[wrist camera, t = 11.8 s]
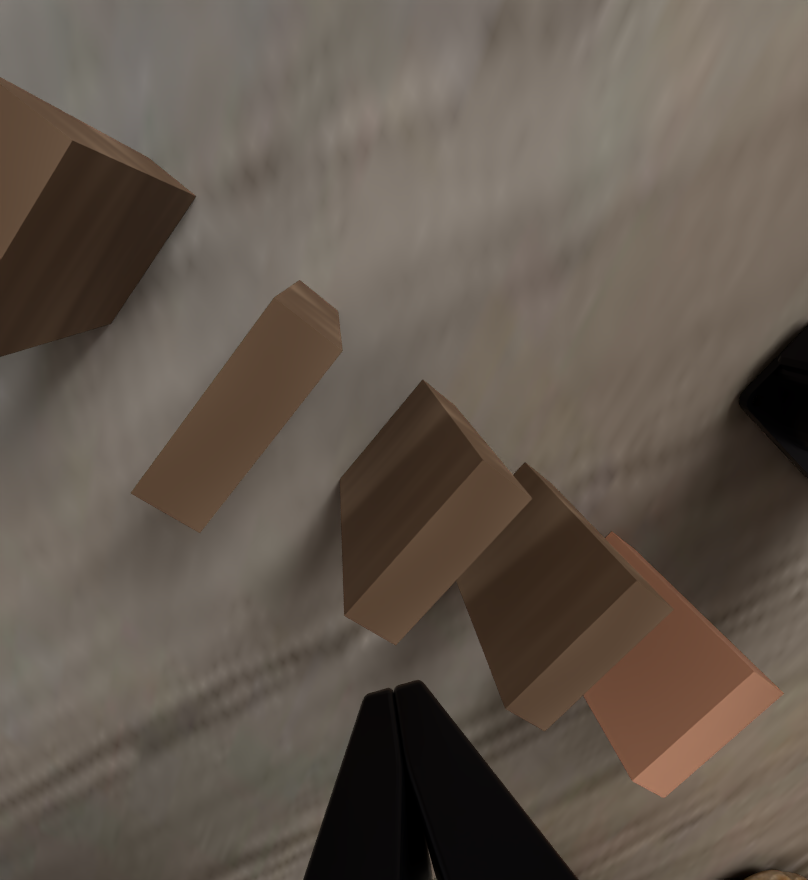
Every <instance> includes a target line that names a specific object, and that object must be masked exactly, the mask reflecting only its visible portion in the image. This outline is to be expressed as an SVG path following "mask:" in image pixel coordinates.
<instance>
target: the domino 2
mask: <svg viewBox="0 0 808 880" xmlns="http://www.w3.org/2000/svg"><path fill="white" fill-rule="evenodd" d="M342 351H343V350H342V341H341V333H340V324H339V315H338V311H337V310H336V309H335V308H334V307H332V306H331V305H330V304H329V303H328V302H326V301H325V300H324V299H323V298H321V297H320V296H319V295H318V294H316V293H315V292H314V291H313V290H311V289H310V288H309V287H308V286H306V285H305V284H304V283H303V282H302V281H300V280H299V281H298V282H296V283H295V284H293V285H292V286H290V287H289V288H287V289H286V290H284V291H283V292H282V293H280V294H279V295H277V296H276V297H274V298H273V300H272V301H271V303H270V304H269V305H268V307H267V308H266V309H265V311H264V312H263V313H262V315H261V316H260V318H259V319H258V320H257V322H256V323H255V324H254V326H253V327H252V328H251V330H250V331H249V333H248V334H247V335H246V337H245V338H244V339H243V341H242V342H241V343H240V345H239V346H238V347H237V349H236V350H235V352H234V353H233V354H232V356H231V357H230V358H229V360H228V361H227V362H226V364H225V365H224V367H223V368H222V369H221V371H220V372H219V373H218V375H217V376H216V377H215V379H214V380H213V382H212V383H211V384H210V386H209V387H208V388H207V390H206V391H205V392H204V394H203V395H202V397H201V398H200V399H199V401H198V402H197V403H196V405H195V406H194V407H193V409H192V410H191V412H190V413H189V414H188V416H187V417H186V418H185V420H184V421H183V422H182V424H181V425H180V426H179V428H178V429H177V431H176V432H175V433H174V435H173V436H172V437H171V439H170V440H169V441H168V443H167V444H166V446H165V447H164V448H163V450H162V451H161V452H160V454H159V455H158V456H157V458H156V459H155V461H154V462H153V463H152V465H151V466H150V467H149V469H148V470H147V471H146V473H145V474H144V476H143V477H142V478H141V480H140V481H139V482H138V484H137V485H136V486H135V488H134V489H133V491H132V492H131V494H133V495H135V496H136V497H138V498H140V499H141V500H143V501H145V502H147V503H148V504H150V505H152V506H154V507H155V508H157V509H159V510H161V511H162V512H164V513H166V514H168V515H169V516H171V517H173V518H175V519H176V520H178V521H180V522H181V523H183V524H185V525H187V526H188V527H190V528H192V529H194V530H195V531H197V532H199V533H200V532H201V531H202V530H203V528H204V527H205V526H206V525H207V523H208V522H209V521H210V519H211V518H212V517H213V516H214V514H215V513H216V512H217V511H218V509H219V508H220V507H221V505H222V504H223V503H224V502H225V500H226V499H227V498H228V496H229V495H230V494H231V493H232V491H233V490H234V489H235V488H236V486H237V485H238V484H239V482H240V481H241V480H242V479H243V477H244V476H245V475H246V473H247V472H248V471H249V470H250V468H251V467H252V466H253V465H254V463H255V462H256V461H257V459H258V458H259V457H260V456H261V454H262V453H263V452H264V451H265V449H266V448H267V447H268V445H269V444H270V443H271V442H272V440H273V439H274V438H275V436H276V435H277V434H278V433H279V431H280V430H281V429H282V428H283V426H284V425H285V424H286V422H287V421H288V420H289V419H290V417H291V416H292V415H293V413H294V412H295V411H296V410H297V408H298V407H299V406H300V405H301V403H302V402H303V401H304V399H305V398H306V397H307V396H308V394H309V393H310V392H311V390H312V389H313V388H314V387H315V385H316V384H317V383H318V382H319V380H320V379H321V378H322V376H323V375H324V374H325V373H326V371H327V370H328V369H329V368H330V366H331V365H332V364H333V362H334V361H335V360H336V359H337V357H338V356H339V355H340V353H341V352H342Z"/></svg>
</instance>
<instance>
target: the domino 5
mask: <svg viewBox="0 0 808 880" xmlns="http://www.w3.org/2000/svg"><path fill="white" fill-rule="evenodd" d="M605 539H606V540H607V541H608V542H609V543H610V544H611V545H612V546H613V547H614V548H615V549H616V550H617V551H618V552H619V553H620V555H621V556H622V557H623V558H624V559H625V560H626V561H627V562H628V563H629V564H630V565H631V566H632V567H633V568H634V569H635V570H636V571H637V572H638V573H639V574H640V575H641V576H642V577H643V578H644V579H645V580H646V581H647V582H648V583H649V584H650V585H651V586H652V587H653V588H654V589H655V591H656V592H657V593H658V594H659V595H660V596H661V597H662V598H663V599H664V600H665V601H666V602H667V603H668V604H669V605H670V606H671V607H672V608H673V609H674V610H673V611H672V612H671V613H670V614H669V615H668V616H667V617H665V618H664V619H663V620H662V621H661V622H660V623H659V624H658V625H657V626H656V627H655V628H654V629H653V630H652V631H651V632H650V633H649V634H647V635H646V636H645V637H644V638H643V639H642V640H641V641H640V642H639V643H638V644H637V645H636V646H635V647H634V648H633V649H632V650H631V651H629V652H628V653H627V654H626V655H625V656H624V657H623V658H622V659H621V660H620V661H619V662H618V663H617V664H616V665H615V666H614V667H613V668H611V669H610V670H609V671H608V672H607V673H606V674H605V675H604V676H603V677H602V678H601V679H600V680H599V681H598V682H597V683H596V684H594V685H593V686H592V687H591V688H590V689H589V690H588V691H587V692H586V693H585V694H584V695H583V696H584V698H585V699H586V701H587V703H588V705H589V706H590V708H591V710H592V712H593V713H594V715H595V717H596V719H597V720H598V722H599V724H600V726H601V727H602V729H603V731H604V733H605V734H606V736H607V738H608V740H609V741H610V743H611V745H612V747H613V748H614V750H615V752H616V754H617V755H618V757H619V759H620V761H621V762H622V764H623V766H624V768H625V769H626V771H627V773H628V775H629V776H630V778H631V780H632V781H633V782H635V783H637V784H639V785H641V786H642V787H644V788H646V789H648V790H650V791H652V792H653V793H655V794H657V795H659V796H661V797H662V798H665V797H666V796H667V795H668V794H669V793H671V792H672V791H673V790H674V789H675V788H676V787H677V786H679V785H680V784H681V783H682V782H683V781H684V780H685V779H687V778H688V777H689V776H690V775H691V774H692V773H693V772H695V771H696V770H697V769H698V768H699V767H700V766H701V765H703V764H704V763H705V762H706V761H707V760H708V759H709V758H711V757H712V756H713V755H714V754H715V753H716V752H718V751H719V750H720V749H721V748H722V747H723V746H724V745H726V744H727V743H728V742H729V741H730V740H731V739H732V738H734V737H735V736H736V735H737V734H738V733H739V732H740V731H742V730H743V729H744V728H745V727H746V726H747V725H748V724H750V723H751V722H752V721H753V720H754V719H755V718H756V717H758V716H759V715H760V714H761V713H762V712H763V711H764V710H766V709H767V708H768V707H769V706H770V705H771V704H773V703H774V702H775V701H776V700H777V699H778V698H779V697H781V696H782V695H783V694H784V693H783V692H782V691H781V690H780V689H779V688H778V687H777V686H776V685H775V684H774V683H773V682H772V681H771V680H770V679H769V678H767V677H766V676H765V675H764V674H763V673H762V672H761V671H760V670H759V669H758V668H757V667H756V666H755V665H754V664H753V663H752V662H751V661H750V660H749V659H748V658H747V657H746V656H745V655H744V654H743V653H742V652H741V651H740V650H739V649H737V648H736V647H735V646H734V645H733V644H732V643H731V642H730V641H729V640H728V639H727V638H726V637H725V636H724V635H723V634H722V633H721V632H720V631H719V630H718V629H717V628H716V627H715V626H714V625H713V624H712V623H711V622H710V621H709V620H707V619H706V618H705V617H704V616H703V615H702V614H701V613H700V612H699V611H698V610H697V609H696V608H695V607H694V606H693V605H692V604H691V603H690V602H689V601H688V600H687V599H686V598H685V597H684V596H683V595H682V594H681V593H680V592H678V591H677V590H676V589H675V588H674V587H673V586H672V585H671V584H670V583H669V582H668V581H667V580H666V579H665V578H664V577H663V576H662V575H661V574H660V573H659V572H658V571H657V570H656V569H655V568H654V567H653V566H652V565H651V564H650V563H648V562H647V561H646V560H645V559H644V558H643V557H642V556H641V555H640V554H639V553H638V552H637V551H636V550H635V549H634V548H633V547H631V546H630V545H629V544H627V543H626V542H625V541H624V540H622V539H621V538H620V537H618V536H617V535H616V534H614V533H613V532H612V531H611V532H610V533H609V535H608V536H607V537H606V538H605Z"/></svg>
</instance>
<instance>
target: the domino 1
mask: <svg viewBox="0 0 808 880" xmlns="http://www.w3.org/2000/svg"><path fill="white" fill-rule="evenodd" d="M195 197H196V196H195V195H194V194H193V193H191V192H190V191H189V190H188V189H187V188H185V187H184V186H183V185H182V184H180V183H179V182H178V181H177V180H175V179H174V178H173V177H172V176H170V175H169V174H168V173H167V172H165V171H164V170H163V169H162V168H161V167H159V166H158V165H157V164H156V163H154V162H153V161H152V160H151V159H149V158H148V157H146V156H144V155H142V154H141V153H139V152H137V151H135V150H133V149H131V148H130V147H128V146H126V145H124V144H122V143H120V142H118V141H117V140H115V139H113V138H111V137H109V136H107V135H106V134H104V133H102V132H100V131H98V130H96V129H95V128H93V127H91V126H89V125H87V124H85V123H84V122H82V121H80V120H78V119H76V118H74V117H73V116H71V115H69V114H67V113H65V112H63V111H62V110H60V109H58V108H56V107H54V106H52V105H51V104H49V103H47V102H45V101H43V100H41V99H39V98H38V97H36V96H34V95H32V94H30V93H28V92H27V91H25V90H23V89H21V88H19V87H17V86H16V85H14V84H12V83H10V82H8V81H6V80H5V79H3V78H1V77H0V357H1V356H4V355H8V354H11V353H15V352H18V351H21V350H25V349H28V348H31V347H35V346H38V345H41V344H45V343H48V342H51V341H55V340H58V339H61V338H65V337H68V336H72V335H75V334H78V333H82V332H85V331H88V330H92V329H95V328H98V327H102V326H105V325H108V324H111V323H112V321H113V320H114V318H115V317H116V315H117V314H118V312H119V311H120V309H121V308H122V306H123V305H124V303H125V302H126V300H127V299H128V297H129V296H130V294H131V293H132V291H133V290H134V288H135V287H136V285H137V284H138V282H139V281H140V279H141V278H142V276H143V275H144V273H145V272H146V270H147V269H148V267H149V266H150V264H151V263H152V261H153V260H154V258H155V257H156V255H157V254H158V252H159V251H160V249H161V248H162V246H163V245H164V243H165V242H166V240H167V239H168V237H169V236H170V234H171V233H172V231H173V230H174V228H175V227H176V225H177V224H178V223H179V221H180V220H181V218H182V217H183V215H184V214H185V212H186V211H187V209H188V208H189V206H190V205H191V203H192V202H193V200H194V199H195Z"/></svg>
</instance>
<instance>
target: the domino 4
mask: <svg viewBox="0 0 808 880" xmlns="http://www.w3.org/2000/svg"><path fill="white" fill-rule="evenodd" d="M513 476H514V477H515V478H516V479H517V481H518V482H519V483H520V484H521V485H522V487H523V488H524V489H525V490H526V491H527V493H528V494H529V495H530V496H531V497H532V499H531V501H530V502H529V503H528V504H527V505H526V506H525V507H524V508H523V509H522V510H521V511H520V512H519V513H518V515H517V516H516V517H515V518H514V519H513V520H512V521H511V522H510V523H509V524H508V525H507V526H506V527H505V528H504V530H503V531H502V532H501V533H500V534H499V535H498V536H497V537H496V538H495V539H494V540H493V541H492V542H491V544H490V545H489V546H488V547H487V548H486V549H485V550H484V551H483V552H482V553H481V554H480V555H479V556H478V557H477V559H476V560H475V561H474V562H473V563H472V564H471V565H470V566H469V567H468V568H467V569H466V570H465V571H464V572H463V574H462V575H461V576H460V577H459V578H458V579H457V580H456V582H457V584H458V587H459V590H460V592H461V595H462V597H463V600H464V603H465V605H466V608H467V610H468V613H469V616H470V618H471V621H472V623H473V626H474V629H475V631H476V634H477V636H478V639H479V642H480V644H481V647H482V649H483V652H484V655H485V657H486V660H487V662H488V665H489V668H490V670H491V673H492V675H493V678H494V681H495V683H496V686H497V688H498V691H499V694H500V696H501V699H502V701H503V704H504V707H505V709H507V710H508V711H510V712H512V713H514V714H515V715H517V716H519V717H521V718H522V719H524V720H526V721H528V722H529V723H531V724H533V725H535V726H536V727H538V728H540V729H541V730H543V731H546V730H547V729H548V728H549V727H550V726H551V725H552V724H553V723H554V722H555V721H556V720H557V719H558V718H560V717H561V716H562V715H563V714H564V713H565V712H566V711H567V710H568V709H569V708H570V707H571V706H572V705H573V704H574V703H575V702H576V701H578V700H579V699H580V698H581V697H582V696H583V695H584V694H585V693H586V692H587V691H588V690H589V689H590V688H591V687H592V686H593V685H594V684H596V683H597V682H598V681H599V680H600V679H601V678H602V677H603V676H604V675H605V674H606V673H607V672H608V671H609V670H610V669H611V668H613V667H614V666H615V665H616V664H617V663H618V662H619V661H620V660H621V659H622V658H623V657H624V656H625V655H626V654H627V653H628V652H629V651H631V650H632V649H633V648H634V647H635V646H636V645H637V644H638V643H639V642H640V641H641V640H642V639H643V638H644V637H645V636H646V635H647V634H649V633H650V632H651V631H652V630H653V629H654V628H655V627H656V626H657V625H658V624H659V623H660V622H661V621H662V620H663V619H664V618H665V617H667V616H668V615H669V614H670V613H671V612H672V611H673V610H674V609H673V608H672V607H671V606H670V605H669V604H668V603H667V602H666V601H665V600H664V599H663V598H662V597H661V596H660V595H659V594H658V593H657V592H656V591H655V589H654V588H653V587H652V586H651V585H650V584H649V583H648V582H647V581H646V580H645V579H644V578H643V577H642V576H641V575H640V574H639V573H638V572H637V571H636V570H635V569H634V568H633V567H632V566H631V565H630V564H629V563H628V562H627V561H626V560H625V559H624V558H623V557H622V556H621V555H620V553H619V552H618V551H617V550H616V549H615V548H614V547H613V546H612V545H611V544H610V543H609V542H608V541H607V540H606V539H605V538H604V537H603V536H602V535H601V534H600V533H599V532H598V531H597V530H596V529H595V528H594V527H593V526H592V525H591V524H590V523H589V522H588V521H587V520H586V519H585V517H584V516H583V515H582V514H581V513H580V512H579V511H578V510H577V509H576V508H575V507H574V506H573V505H572V504H571V503H570V502H569V501H568V500H567V499H566V498H565V497H564V496H563V495H562V494H561V493H560V492H559V491H558V490H557V489H556V488H555V487H554V486H553V485H552V484H551V483H550V482H549V481H548V480H546V479H545V478H544V477H543V476H542V475H540V474H539V473H538V472H537V471H535V470H534V469H533V468H532V467H530V466H529V465H528V464H527V463H524V464H523V465H522V466H521V467H520V468H519V469H518V470H517V472H516V473H515V474H514V475H513Z"/></svg>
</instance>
